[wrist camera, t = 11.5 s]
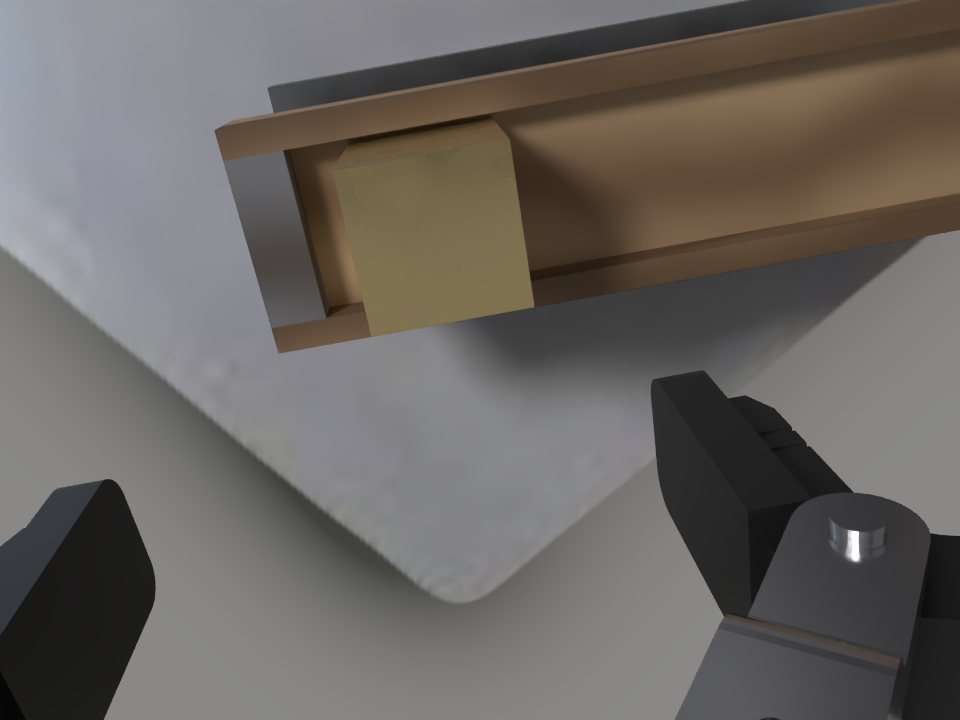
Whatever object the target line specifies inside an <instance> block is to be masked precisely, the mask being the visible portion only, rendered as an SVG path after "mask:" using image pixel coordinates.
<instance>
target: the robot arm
mask: <svg viewBox="0 0 960 720" xmlns="http://www.w3.org/2000/svg"><path fill="white" fill-rule="evenodd" d="M651 401H652V412H653V424H654V435H655V446H656V458H657V469H658V476H659V482H660V487H661V491H662V495H663V498H664V501H665V504H666V507H667V509H668V511H669V514H670V516H671V517H672V519H673V521H674V523H675V525H676V527H677V529H678V531H679V532H680V534H681V536H682V538H683V540H684V542H685V544H686V546H687V548H688V550H689V551H690V553H691V555H692V557H693V559H694V561H695V562H696V565H697V566H698V568H699V570H700V572H701V574H702V576H703V578H704V580H705V582H706V583H707V585H708V587H709V589H710V591H711V593H712V595H713V597H714V598H715V600H716V602H717V604H718V606H719V608H720V610H721V612H722V613H723V615H724V618H723V620H722V621H721V623H720V625H719V627H718V629H717V631H716V633H715V635H714V638H713V639H712V641H711V644H710V646H709V648H708V650H707V652H706V654H705V656H704V659H703V661H702V663H701V665H700V667H699V669H698V671H697V673H696V676H695V678H694V680H693V682H692V684H691V686H690V688H689V691H688V693H687V695H686V697H685V699H684V701H683V703H682V705H681V708H680V710H679V712H678V714H677V716H676V718H675V720H960V536H948V535H938V534H931V533H930V532H929V528H928V527H927V525H926V524H925V522H924V521H923V520H922V519H921V518H920V517H919V516H918V515H917V514H916V513H914V512H913V511H912V510H910V509H909V508H907V507H905V506H903V505H902V504H899V503H897V502H895V501H892V500H889V499H886V498H883V497H879V496H874V495H870V494H862V493H854V492H853V491H852V490H851V489H850V488H849V487H848V486H847V485H846V484H845V483H844V482H843V481H842V480H841V479H840V478H839V477H838V475H837V474H836V473H835V472H834V471H833V470H832V469H831V468H830V467H829V466H828V465H827V464H826V463H825V462H824V461H823V460H822V459H821V458H820V456H819V455H818V454H817V453H816V452H815V451H814V450H813V449H812V448H811V447H810V446H808V447H807V445H806V442H805V441H804V440H803V438H801V436H800V435H799V434H798V433H797V432H796V431H792V427H791V426H790V425H789V424H788V423H787V421H786V420H785V419H784V418H783V417H782V416H781V415H780V414H779V413H778V412H777V411H776V410H775V409H774V408H772V407H770V406H768V405H765V404H763V403H761V402H759V401H756V400H754V399H752V398H750V397H748V396H740V397H734V398H729V399H728V398H727V397H726V396H725V395H724V393H723V392H722V391H721V390H720V389H719V388H718V386H717V385H716V384H715V383H714V382H713V380H712V379H711V378H710V377H709V376H708V375H707V373H706V372H705V371H703V370H701V371H695V372H690V373H685V374H679V375H674V376H668V377H663V378H658V379H653V381H652V384H651ZM155 589H156V588H155V575H154V571H153V566H152V563H151V560H150V558H149V556H148V553H147V551H146V548H145V546H144V543H143V541H142V538H141V536H140V533H139V531H138V528H137V526H136V523H135V521H134V518H133V516H132V514H131V511H130V508H129V506H128V504H127V501H126V499H125V496H124V494H123V492H122V490H121V488H120V487H119V485H118V484H117V483H116V482H115V481H113V480H111V479H106V480H101V481H95V482H90V483H85V484H79V485H74V486H68V487H63V488H58V489H56V490H54V491H53V493H52V494H51V495H50V497H49V498H48V499H47V500H46V502H45V503H44V504H43V506H42V507H41V508H40V510H39V511H38V512H37V514H36V515H35V516H34V518H33V519H32V520H31V522H30V523H29V524H28V525H27V527H26V528H24V529H22V530H21V531H19V532H18V533H17V534H16V535H14V536H13V537H12V538H11V539H9V540H8V541H7V542H5V543H4V544H3V545H2V546H0V720H104V718H105V715H106V713H107V711H108V708H109V706H110V704H111V702H112V699H113V697H114V694H115V692H116V690H117V688H118V685H119V683H120V681H121V678H122V676H123V674H124V672H125V669H126V667H127V665H128V662H129V660H130V658H131V656H132V653H133V651H134V649H135V646H136V644H137V642H138V640H139V637H140V635H141V633H142V630H143V628H144V626H145V623H146V621H147V619H148V617H149V614H150V612H151V610H152V607H153V603H154V600H155Z"/></svg>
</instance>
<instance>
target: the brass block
mask: <svg viewBox="0 0 960 720" xmlns="http://www.w3.org/2000/svg"><path fill="white" fill-rule="evenodd" d="M332 173H333V177H334V181H335V185H336V190H337V194H338V198H339V202H340V206H341V211H342V215H343V219H344V223H345V228H346V232H347V236H348V240H349V244H350V249H351V253H352V257H353V261H354V265H355V270H356V274H357V278H358V282H359V287H360V291H361V295H362V299H363V303H364V308H365V312H366V316H367V320H368V325H369V329H370V333H371V337H374V336H380V335H385V334H391V333H396V332H401V331H407V330H412V329H418V328H423V327H429V326H434V325H440V324H445V323H451V322H456V321H462V320H467V319H473V318H478V317H484V316H489V315H494V314H500V313H505V312H511V311H516V310H522V309H527V308H533V307H534V300H533V293H532V287H531V280H530V273H529V266H528V260H527V253H526V246H525V239H524V232H523V226H522V219H521V212H520V205H519V199H518V192H517V185H516V178H515V171H514V165H513V158H512V151H511V144H510V139H509V138H508V137H507V135H506V134H505V133H504V132H503V130H502V129H501V128H500V127H499V125H498V124H497V123H496V122H495V120H494V119H493V118H492V117H491V116H488V117H483V118H477V119H472V120H466V121H461V122H455V123H450V124H444V125H439V126H433V127H428V128H422V129H417V130H411V131H406V132H400V133H395V134H389V135H384V136H378V137H373V138H367V139H362V140H356V141H351V142H348V144H347V146H346V148H345V149H344V151H343V153H342V155H341V157H340V159H339V160H338V162H337V164H336V166H335V168H334V169H333V171H332Z"/></svg>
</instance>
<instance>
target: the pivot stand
mask: <svg viewBox="0 0 960 720" xmlns="http://www.w3.org/2000/svg"><path fill="white" fill-rule="evenodd" d="M893 1H899V0H746V1H740V2H735V3H729V4H723V5H718V6H712V7H707V8H701V9H696V10H690V11H685V12H679V13H674V14H668V15H662V16H657V17H651V18H646V19H640V20H635V21H629V22H624V23H618V24H613V25H607V26H602V27H596V28H590V29H585V30H579V31H574V32H568V33H563V34H557V35H552V36H546V37H541V38H535V39H530V40H524V41H518V42H513V43H507V44H502V45H496V46H491V47H485V48H480V49H474V50H469V51H463V52H457V53H452V54H446V55H441V56H435V57H430V58H424V59H419V60H413V61H408V62H402V63H397V64H391V65H385V66H380V67H374V68H369V69H363V70H358V71H352V72H347V73H341V74H336V75H330V76H325V77H319V78H313V79H308V80H302V81H297V82H291V83H286V84H280V85H275V86H271V87H269V88H268V92H269V96H270V100H271V103H272V107H273V111H274V113H278V112H283V111H289V110H294V109H300V108H305V107H311V106H316V105H322V104H328V103H333V102H339V101H344V100H350V99H355V98H361V97H366V96H372V95H377V94H383V93H389V92H394V91H400V90H405V89H411V88H416V87H422V86H427V85H433V84H438V83H444V82H450V81H455V80H461V79H466V78H472V77H477V76H483V75H488V74H494V73H499V72H505V71H511V70H516V69H522V68H527V67H533V66H538V65H544V64H549V63H555V62H560V61H566V60H572V59H577V58H583V57H588V56H594V55H599V54H605V53H610V52H616V51H622V50H627V49H633V48H638V47H644V46H649V45H655V44H660V43H666V42H671V41H677V40H683V39H688V38H694V37H699V36H705V35H710V34H716V33H721V32H727V31H732V30H738V29H744V28H749V27H755V26H760V25H766V24H771V23H777V22H782V21H788V20H793V19H799V18H805V17H810V16H816V15H821V14H827V13H832V12H838V11H843V10H849V9H854V8H860V7H866V6H871V5H877V4H882V3H888V2H893Z"/></svg>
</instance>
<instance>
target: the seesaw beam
mask: <svg viewBox="0 0 960 720" xmlns="http://www.w3.org/2000/svg"><path fill="white" fill-rule="evenodd" d="M488 116H491V117H492V118H493V119H494V120H495V122H496V123H497V124H498V125H499V127H500V128H501V129H502V130H503V132H504V133H505V134H506V135H507V137H508V138H509V139H510V144H511V151H512V158H513V165H514V171H515V178H516V185H517V192H518V199H519V205H520V212H521V219H522V226H523V232H524V239H525V246H526V253H527V260H528V266H529V273H530V280H531V287H532V293H533V300H534V307H538V306H543V305H549V304H554V303H560V302H565V301H571V300H576V299H582V298H587V297H593V296H598V295H604V294H609V293H615V292H620V291H626V290H631V289H637V288H642V287H648V286H653V285H659V284H664V283H670V282H675V281H681V280H686V279H692V278H697V277H703V276H708V275H714V274H719V273H725V272H730V271H736V270H741V269H747V268H752V267H758V266H763V265H769V264H774V263H780V262H785V261H791V260H796V259H802V258H807V257H813V256H818V255H824V254H829V253H835V252H840V251H846V250H851V249H857V248H862V247H868V246H873V245H879V244H884V243H890V242H895V241H901V240H906V239H912V238H917V237H923V236H928V235H934V234H939V233H945V232H950V231H955V230H960V0H899V1H893V2H888V3H882V4H877V5H871V6H866V7H860V8H854V9H849V10H843V11H838V12H832V13H827V14H821V15H816V16H810V17H805V18H799V19H793V20H788V21H782V22H777V23H771V24H766V25H760V26H755V27H749V28H744V29H738V30H732V31H727V32H721V33H716V34H710V35H705V36H699V37H694V38H688V39H683V40H677V41H671V42H666V43H660V44H655V45H649V46H644V47H638V48H633V49H627V50H622V51H616V52H610V53H605V54H599V55H594V56H588V57H583V58H577V59H572V60H566V61H560V62H555V63H549V64H544V65H538V66H533V67H527V68H522V69H516V70H511V71H505V72H499V73H494V74H488V75H483V76H477V77H472V78H466V79H461V80H455V81H450V82H444V83H438V84H433V85H427V86H422V87H416V88H411V89H405V90H400V91H394V92H389V93H383V94H377V95H372V96H366V97H361V98H355V99H350V100H344V101H339V102H333V103H328V104H322V105H316V106H311V107H305V108H300V109H294V110H289V111H283V112H278V113H272V114H266V115H261V116H255V117H250V118H244V119H239V120H233V121H231V122H229V123H227V124H225V125H224V126H222V127H220V128H218V129H216V130H215V134H216V137H217V141H218V144H219V148H220V151H221V155H222V158H223V162H224V165H225V169H226V172H227V176H228V179H229V183H230V186H231V189H232V193H233V196H234V200H235V203H236V207H237V210H238V214H239V217H240V221H241V224H242V228H243V231H244V235H245V238H246V242H247V245H248V249H249V252H250V255H251V259H252V262H253V266H254V269H255V273H256V276H257V280H258V283H259V287H260V290H261V294H262V297H263V301H264V304H265V308H266V311H267V315H268V318H269V322H270V325H271V328H272V332H273V335H274V339H275V342H276V346H277V349H278V353H284V352H290V351H295V350H301V349H306V348H312V347H317V346H323V345H328V344H334V343H339V342H345V341H350V340H356V339H361V338H367V337H371V333H370V329H369V325H368V320H367V316H366V312H365V308H364V303H363V299H362V295H361V291H360V287H359V282H358V278H357V274H356V270H355V265H354V261H353V257H352V253H351V249H350V244H349V240H348V236H347V232H346V228H345V223H344V219H343V215H342V211H341V206H340V202H339V198H338V194H337V190H336V185H335V181H334V177H333V173H332V171H333V169H334V168H335V166H336V164H337V162H338V160H339V159H340V157H341V155H342V153H343V151H344V149H345V148H346V146H347V144H348V142H351V141H356V140H362V139H367V138H373V137H378V136H384V135H389V134H395V133H400V132H406V131H411V130H417V129H422V128H428V127H433V126H439V125H444V124H450V123H455V122H461V121H466V120H472V119H477V118H483V117H488Z"/></svg>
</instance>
